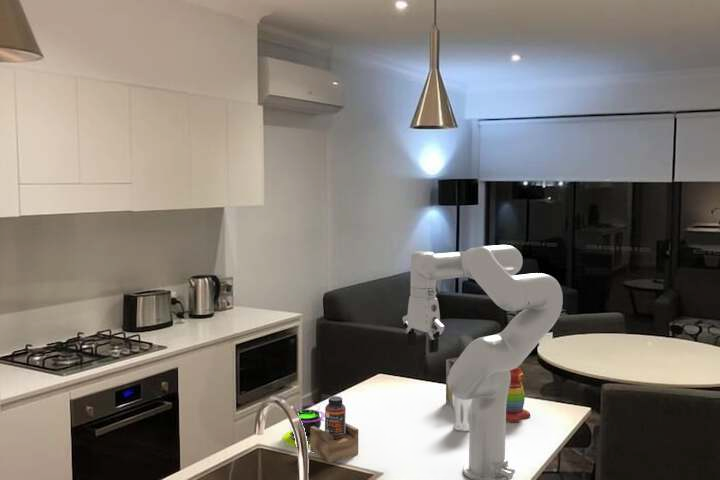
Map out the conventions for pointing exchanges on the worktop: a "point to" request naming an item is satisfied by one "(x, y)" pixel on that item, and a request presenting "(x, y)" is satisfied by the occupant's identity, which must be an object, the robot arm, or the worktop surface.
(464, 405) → the white cylindrical cup
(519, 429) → the worktop surface
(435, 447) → the worktop surface
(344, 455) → the pedestal
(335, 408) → the supplement bottle
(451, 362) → the coffee box
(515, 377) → the stacking bear
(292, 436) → the toy cauldron
